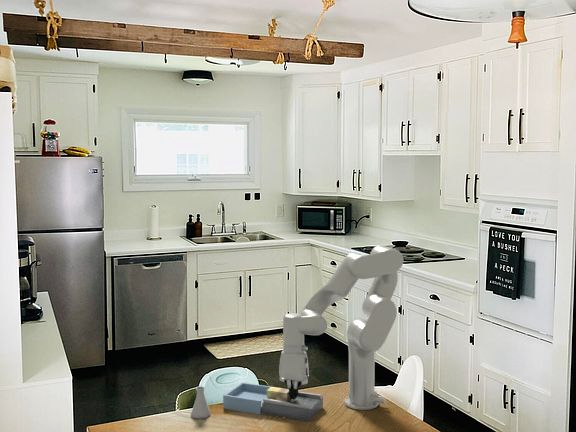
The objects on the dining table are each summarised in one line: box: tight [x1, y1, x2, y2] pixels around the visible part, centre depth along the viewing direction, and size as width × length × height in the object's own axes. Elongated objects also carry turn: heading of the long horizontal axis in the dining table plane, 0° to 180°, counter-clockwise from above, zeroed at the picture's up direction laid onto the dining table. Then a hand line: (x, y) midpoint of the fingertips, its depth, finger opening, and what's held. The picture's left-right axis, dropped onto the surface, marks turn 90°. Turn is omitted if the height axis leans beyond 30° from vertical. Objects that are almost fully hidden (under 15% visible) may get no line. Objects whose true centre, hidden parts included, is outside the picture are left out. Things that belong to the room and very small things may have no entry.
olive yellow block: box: [267, 386, 282, 400], centre depth 224 cm, size 4×4×3 cm
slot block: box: [262, 390, 324, 423], centre depth 221 cm, size 18×14×5 cm
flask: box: [190, 386, 211, 419], centre depth 218 cm, size 7×7×10 cm
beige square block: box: [277, 387, 290, 401], centre depth 222 cm, size 4×4×3 cm
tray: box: [222, 382, 271, 415], centre depth 228 cm, size 15×15×5 cm
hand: (293, 398), depth 221 cm, fingers closed
